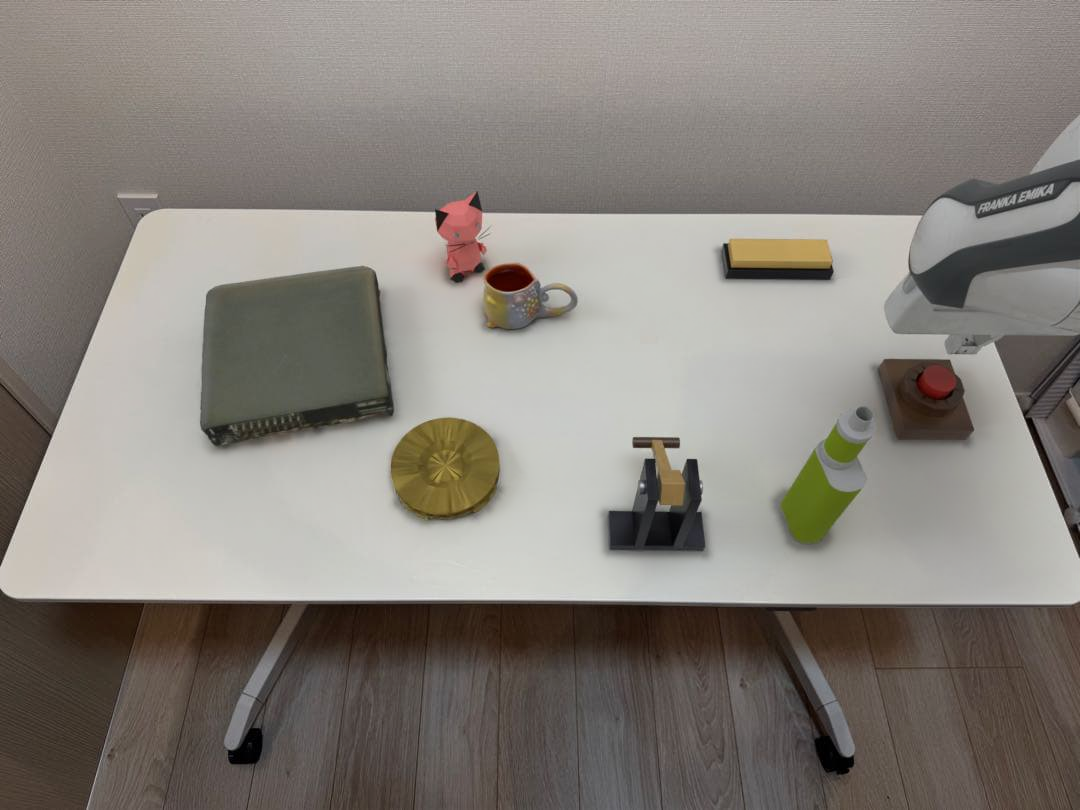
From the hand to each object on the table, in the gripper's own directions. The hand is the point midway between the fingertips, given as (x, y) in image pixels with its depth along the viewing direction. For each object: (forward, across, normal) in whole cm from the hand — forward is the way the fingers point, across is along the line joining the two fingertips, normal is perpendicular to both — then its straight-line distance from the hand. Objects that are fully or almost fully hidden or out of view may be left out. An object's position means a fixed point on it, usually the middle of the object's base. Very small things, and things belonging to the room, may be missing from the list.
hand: (959, 349), depth 83 cm
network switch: (+11, -75, +5) cm, 76 cm away
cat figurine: (+11, -56, +21) cm, 61 cm away
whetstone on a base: (+11, -14, +22) cm, 28 cm away
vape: (+11, -17, -15) cm, 25 cm away
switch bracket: (+10, -33, -17) cm, 39 cm away
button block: (+10, 0, 0) cm, 11 cm away
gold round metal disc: (+11, -56, -10) cm, 58 cm away
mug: (+11, -47, +13) cm, 50 cm away
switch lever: (+3, -33, -14) cm, 36 cm away
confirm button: (+7, 0, 0) cm, 7 cm away
